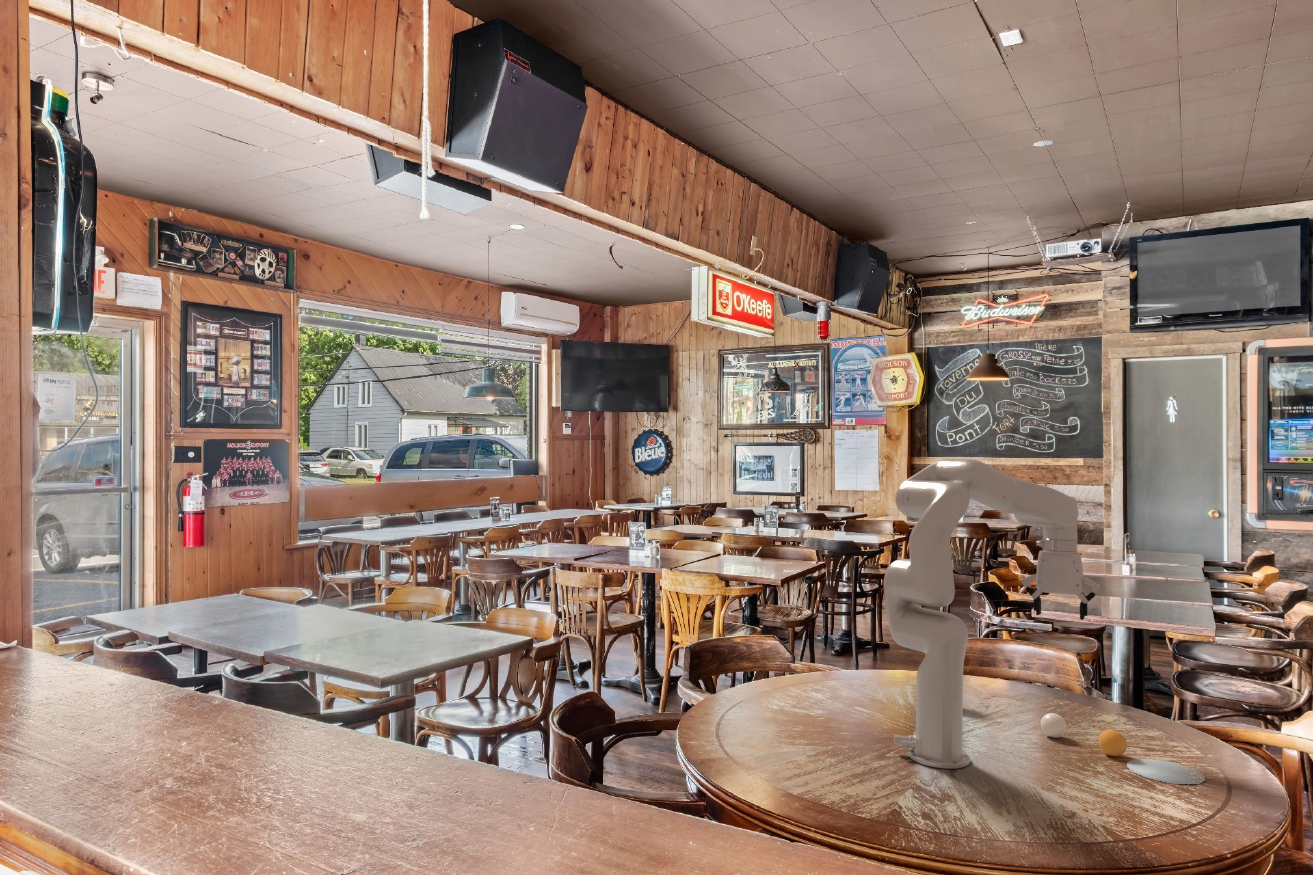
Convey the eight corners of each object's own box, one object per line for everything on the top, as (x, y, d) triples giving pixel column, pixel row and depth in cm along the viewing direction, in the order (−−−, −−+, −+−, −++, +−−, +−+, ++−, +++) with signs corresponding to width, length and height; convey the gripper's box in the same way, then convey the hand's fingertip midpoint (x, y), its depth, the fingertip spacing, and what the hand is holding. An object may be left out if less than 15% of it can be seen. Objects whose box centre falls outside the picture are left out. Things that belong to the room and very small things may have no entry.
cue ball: (1043, 739, 191) (1043, 715, 192) (1038, 732, 197) (1038, 709, 197) (1069, 741, 190) (1069, 717, 190) (1062, 734, 196) (1063, 711, 196)
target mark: (1140, 780, 167) (1140, 779, 167) (1117, 756, 181) (1117, 756, 181) (1217, 788, 164) (1217, 787, 164) (1188, 763, 178) (1188, 762, 178)
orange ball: (1102, 758, 180) (1103, 733, 180) (1095, 750, 185) (1095, 725, 185) (1130, 761, 178) (1130, 735, 178) (1122, 752, 184) (1122, 727, 184)
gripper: (1018, 545, 202) (1019, 615, 202) (1098, 550, 193) (1098, 623, 192) (1024, 542, 208) (1024, 610, 208) (1101, 547, 199) (1101, 618, 198)
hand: (1060, 616), depth 200 cm, fingers open, 9 cm apart
